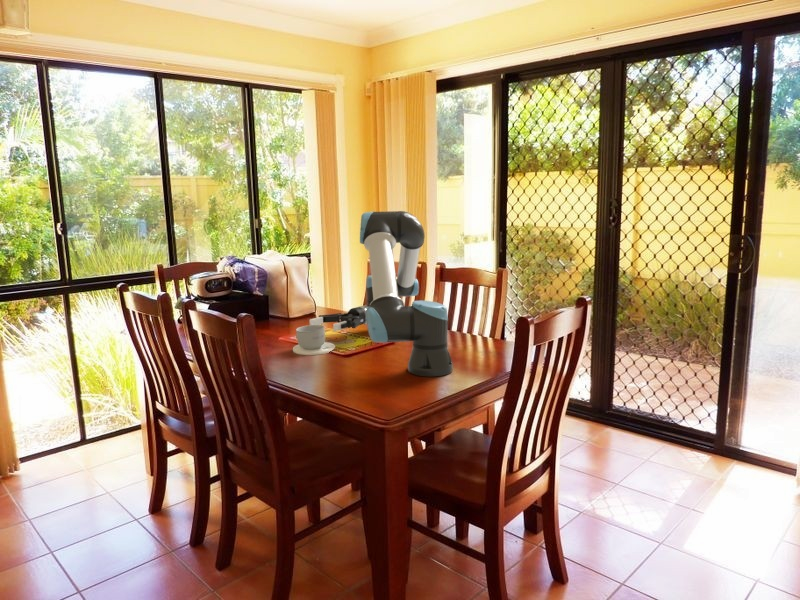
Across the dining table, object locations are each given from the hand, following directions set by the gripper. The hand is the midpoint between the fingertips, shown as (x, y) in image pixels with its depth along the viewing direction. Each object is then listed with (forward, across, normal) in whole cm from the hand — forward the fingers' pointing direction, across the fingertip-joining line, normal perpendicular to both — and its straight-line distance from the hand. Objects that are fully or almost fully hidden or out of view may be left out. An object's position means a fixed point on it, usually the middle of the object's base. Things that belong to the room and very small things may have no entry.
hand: (321, 325), depth 231 cm
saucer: (+5, 0, -9) cm, 10 cm away
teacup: (+5, 0, -8) cm, 9 cm away
